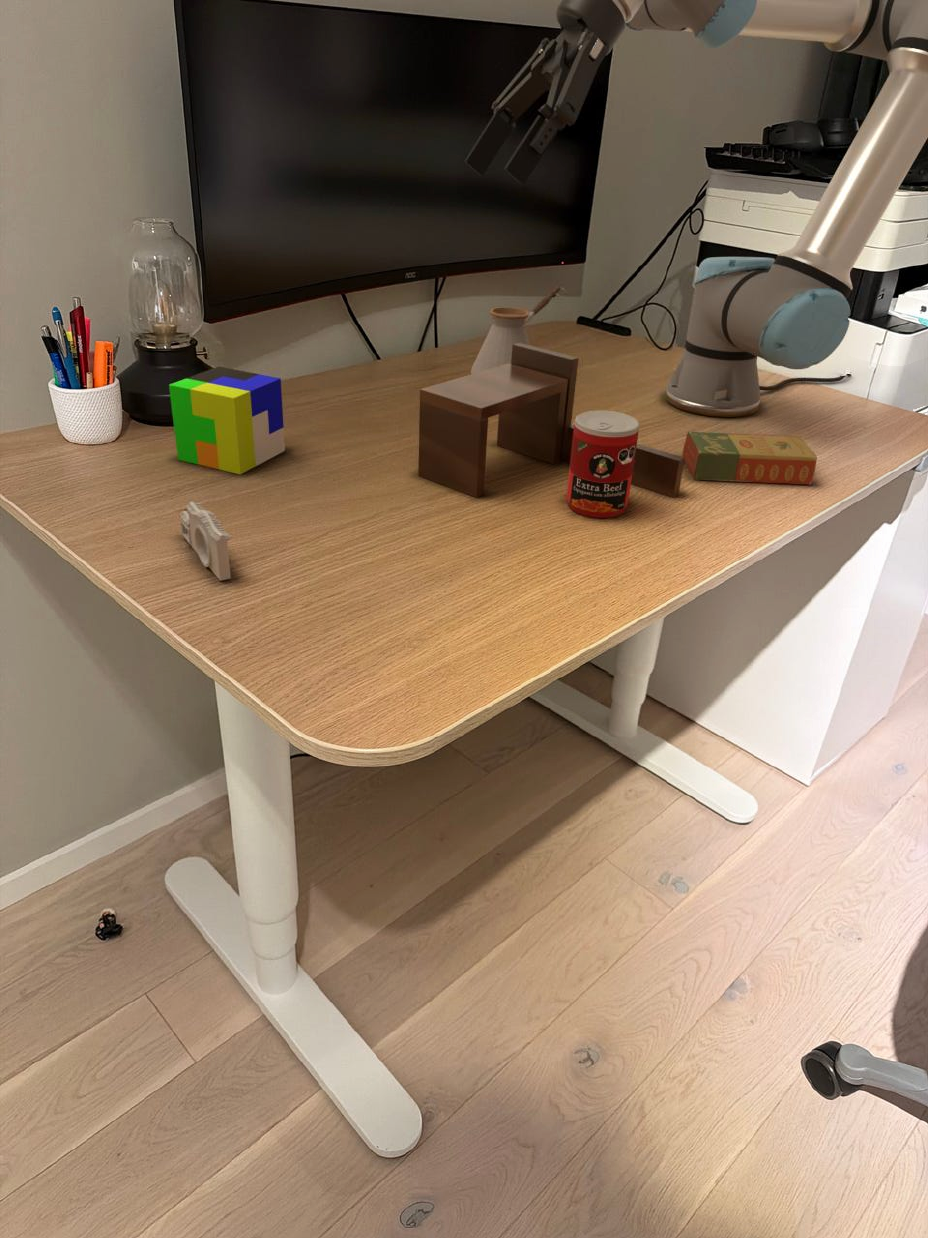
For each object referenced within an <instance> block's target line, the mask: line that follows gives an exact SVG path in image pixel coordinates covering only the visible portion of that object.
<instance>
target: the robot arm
mask: <svg viewBox="0 0 928 1238" xmlns="http://www.w3.org/2000/svg"><path fill="white" fill-rule="evenodd" d="M555 17H556V21H557V23H558V24H559V27H560V34H558V35H557V37H556V38H555V39H554V38H553V39H552V40H550V39H549V38H547V37H545V38H544V39H542V40H541V42H540V44H539V45H538V47H537V48H536V50H535V52H534V53H533V54H532V56H531V57H530V58H529V59H528V60H527V62H526V63H525V64H524V66H522V67H521V69H520V71H519V72H518V73H517V74H515V76H514V78H512V80H511V81H510V83H509V84H507V86H506V87H505V89H504V90H503V91H502V92H501V93H500V94H499V96H498V97H497V98H496V99H495V101H493V103H492V105H491V109H492V110H493V115H492V117H491V118H490V120H489V122H488V123H487V124H486V126H485V128H484V129H483V130H482V132H481V134H480V136H479V137H478V138H477V140H476V142H475V143H474V145H473V147H472V148H471V149H470V152H469V153H468V154H467V156H466V158H465V159H464V161H463V162H464V163H465V164H466V165H468V166H469V167H470V168H471V169H472V170H473V171H474V172H475V173H476V174H478V175H479V176H480V177H483V176H484V175H485V173H486V172H487V170H488V168H489V166H490V165H491V163H492V162H493V161H494V159H495V157H496V156H497V154H498V153H499V151H500V149H501V148H502V146H503V145H504V143H505V142H506V140H507V139H508V138H509V136H510V134H511V132H512V131H515V130H516V127H517V123H516V121H517V120H518V119H519V118H520V117H521V116H522V115H523V114H524V113H525V112H526V111H527V110H528V109H529V108H530V107H531V106H532V105H533V104H534V103H536V101H537V100H538V99H539V98H540V97H541V96H542V95H543V94H544V93H545V92H546V91H549V93H548V97H547V100H546V102H545V104H543V105H542V106H541V107H540V108H539V109H538V112H539V113H540V114H541V115H537V116H536V117H535V119H534V121H533V122H532V124H531V125H530V127H529V129H528V130H527V132H526V133H525V135H524V137H523V138H522V140H520V143H519V144H518V145H517V147H516V149H515V150H514V152H513V154H512V155H511V156H510V158H509V160H508V161H507V162H506V164H505V166H504V167H503V170H504V171H505V172H506V173H507V174H509V175H510V176H511V177H512V178H513V179H514V180H515V181H517V182H518V183H519V184H520V185H522V186H524V185H525V183H526V182H527V181H528V179H529V178H530V176H531V174H533V171H534V170H535V168H536V167H537V165H538V164H539V162H540V161H541V159H543V157H544V155H545V153H546V152H547V150H548V149H549V147H550V146H551V144H552V142H553V141H554V139H555V138H556V136H557V134H558V133H559V132H561V131H562V130H563V129H564V128H565V127H566V126H567V125H568V126H569V127H572V126H573V125H574V124H575V123H576V121H577V120H578V118H579V115H580V112H581V111H582V108H583V105H584V103H585V101H586V98H587V97H588V93H589V91H590V89H591V86H592V84H593V81H594V78H595V76H596V74H597V72H598V69H599V67H600V65H601V64H602V62H603V60H604V59H605V57H606V56H608V55H609V54H610V53H611V51H612V49H613V48H614V46H615V45H616V43H617V42H618V40H619V39H620V37H621V36H622V34H623V32H624V31H625V29H627V30H632V31H644V30H653V31H654V30H655V31H669V32H687V33H694V37H695V38H696V39H699V40H700V41H701V42H702V44H704V46H705V47H707V48H708V49H712V50H713V49H719V48H721V47H723V46H725V45H727V44H728V43H730V42H732V41H733V40H734V39H736V37H737V36H740V37H754V38H755V37H756V38H768V39H781V40H782V39H783V40H796V41H807V42H808V41H809V42H810V41H811V42H821V43H822V44H823V45H824V46H825V48H826V49H827V50H829V51H831V52H842V53H847V54H848V53H849V54H854V55H860V56H864V57H868V58H874V59H877V60H881V61H886V63H887V67H888V72H889V75H888V76H887V78H886V81H885V82H884V83H883V86H882V87H881V89H880V91H879V93H878V95H877V97H876V98H875V100H874V102H873V104H872V105H871V107H870V109H869V111H868V113H867V115H866V116H865V118H864V120H863V122H862V124H861V125H860V127H859V129H858V131H857V133H856V135H855V137H854V138H853V140H852V142H851V144H850V146H849V147H848V149H847V151H846V153H845V155H844V156H843V158H842V160H841V162H840V164H839V165H838V167H837V169H836V171H835V173H834V175H833V176H832V178H831V180H830V182H829V183H828V185H827V187H826V189H825V191H824V192H823V195H822V196H821V198H820V200H819V201H818V203H817V205H816V207H815V209H814V210H813V212H812V214H811V216H810V218H809V220H808V222H807V224H806V225H805V227H804V229H803V231H802V233H801V234H800V236H799V238H798V240H797V242H796V243H795V245H794V246H793V247H792V248H790V249H787V250H784V251H781V252H780V253H778V254H777V256H776V257H775V258H772V257H762V256H761V257H760V256H759V257H758V256H756V257H755V256H715V257H714V256H713V257H707V258H705V259H703V260H702V261H701V262H700V264H699V266H698V268H697V274H696V277H695V280H694V283H693V286H694V288H693V296H692V301H691V308H690V314H689V318H688V319H689V320H688V326H687V332H686V338H685V345H684V349H683V352H682V353H683V354H682V356H681V357H680V360H679V362H678V363H677V365H676V367H675V369H674V371H673V373H672V375H671V377H670V379H669V381H668V383H667V386H666V391H665V395H664V397H665V401H666V402H667V403H668V404H670V405H671V406H673V407H675V408H677V409H679V410H682V411H685V412H688V413H692V414H697V415H703V416H710V417H718V418H719V417H721V418H723V417H724V418H737V417H738V418H739V417H744V416H745V417H746V416H750V415H752V414H754V413H756V412H758V410H759V408H760V402H761V391H764V392H765V391H766V392H767V391H769V392H770V391H774V390H778V389H779V388H782V387H783V386H785V385H788V384H790V383H791V384H792V383H799V382H802V383H803V382H807V383H809V382H810V383H837V382H840V381H843V380H844V379H845V378H846V376H847V377H852V373H851V374H847V375H846V376H841V375H840V376H837V377H792V378H787V379H784V380H782V381H780V382H779V383H776V384H774V385H770V386H764V385H760V380H759V372H758V358H760V359H762V360H764V361H766V362H767V363H770V364H771V365H773V366H777V367H784V368H785V369H789V370H804V369H805V370H806V369H809V368H811V367H813V366H816V365H818V364H820V363H822V362H824V361H825V360H826V359H827V358H829V357H830V356H831V355H833V353H834V352H835V351H836V350H837V349H838V347H839V346H840V345H841V343H842V342H843V340H844V338H845V337H846V335H847V332H848V330H849V327H850V324H851V323H850V322H851V321H850V319H849V317H850V316H851V307H850V304H849V302H848V298H849V296H850V293H851V292H852V290H853V288H854V287H853V283H852V279H851V271H852V269H853V268H854V266H855V264H856V262H857V261H858V259H859V257H860V255H862V252H863V250H864V248H865V247H866V245H867V243H868V241H869V240H870V238H871V237H872V235H873V233H874V231H875V230H876V228H877V226H878V224H879V223H880V221H881V219H882V217H883V215H884V214H885V212H886V211H887V209H888V207H889V206H890V204H891V202H892V200H893V198H894V197H895V195H896V194H897V192H898V190H899V188H900V186H901V184H902V183H903V181H904V179H905V178H906V176H907V174H908V173H909V171H910V169H911V167H912V165H913V164H914V162H915V160H916V159H917V157H918V155H919V153H920V152H921V150H922V148H923V146H924V145H925V143H926V141H927V140H928V0H561V1H560V3H559V4H558V6H557V8H556V10H555Z"/></svg>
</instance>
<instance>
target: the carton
mask: <svg viewBox="0 0 928 1238" xmlns="http://www.w3.org/2000/svg"><path fill="white" fill-rule="evenodd" d="M681 457H683V458H685V461H684V464H686V466H687V468H688V470H689V472H690V474H691V476H692V478H693V479H694V480H696V481H723V482H739V483H740V482H745V483H766V484H767V483H769V484H771V483H772V484H791V485H792V484H793V485H794V484H795V485H811V484H812V483H813V479H814V475H815V472H816V466H817V461H818V457H817V455H816V454H815V453H814V451H813V450H812V449H811V447H810V446H809V445H808V444H807V443H806V442H805V441H804V439H802V437H801V436H797V435H781V434H779V435H777V434H751V433H727V432H704V431H687V434H686V437H685V440H684V445H683V448H682V453H681Z"/></svg>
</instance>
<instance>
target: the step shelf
mask: <svg viewBox="0 0 928 1238" xmlns="http://www.w3.org/2000/svg"><path fill="white" fill-rule="evenodd" d="M578 366H579V357H576V356H573V355H570V354H565V353H562V352H557V351H553V350H549V349H546V348H541V347H538V346H534V345H531V344H530V345H526V344H522V343H516V344H513V345H512V358H511V364H509V363H508V364H505V365H502V366H498V367H495V368H491V369H488V370H484V371H481V372H478V373H474V374H471V373H470V374H468V375H464V376H461V377H457V378H453V379H451V380H447V381H444V382H440V383H437V384H433V385H430V386H426V387H422V388H420V389H419V416H418V417H419V418H418V419H419V420H418V421H419V422H418V423H419V425H418V467H417V469H418V470H417V476H419V477H422V478H424V479H427V480H429V481H432V482H435V483H437V484H439V485H443V486H445V487H448V488H450V489H453V490H456V491H458V492H461V493H464V494H466V495H469V496H472V497H474V498H478V497H479V498H480V497H481V496H483V495H484V494H485V482H486V481H485V480H486V479H485V478H486V463H487V449H488V448H487V447H488V432H489V418H491V417H494V416H498V419H497V421H498V422H497V433H496V434H497V435H496V436H497V437H496V446H498V447H501V448H503V449H506V450H510V451H513V452H516V453H518V454H522V455H524V456H526V457H527V456H528V457H530V458H534V459H537V460H539V461H543V462H545V463H548V464H552V465H555V464H557V463H559V462H560V461H564V462H565V463H567V464H570V459H571V450H572V440H573V431H574V424H572V421H573V413H574V412H573V411H574V403H575V395H576V386H577V385H576V384H577V376H578ZM684 466H685V458H683V457H682V456H680V455H677V454H673V453H669V452H666V451H663V450H660V449H656V448H653V447H651V446H646V445H643V444H640V443H637V447H636V454H635V460H634V467H633V473H632V480H631V485H633V486H637V487H640V488H643V489H645V490H649V491H652V492H655V493H658V494H661V495H663V496H667V497H670V498H674V497H677V496H678V495H679V493H680V489H681V483H682V477H683V473H684Z"/></svg>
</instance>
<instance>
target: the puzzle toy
mask: <svg viewBox="0 0 928 1238" xmlns="http://www.w3.org/2000/svg"><path fill="white" fill-rule="evenodd" d="M168 388H169V390H168V391H169V398H170V407H171V414H172V421H173V430H174V437H175V438H174V439H175V445H176V453H177V460H179V461H182V462H186V463H191V464H195V465H199V466H203V467H207V468H210V469H211V468H212V469H216V470H218V471H219V470H220V471H224V472H228V473H233V474H236V475H242V474H244V473H246V472H248V471H250V470H252V469H254V468H256V467H258V466H259V465H261V464H263V463H265V462H267V461H268V460H270V459H272V458H274V457H276V456H278V455H280V454H282V453H284V452H285V451H286V444H285V443H286V442H285V427H284V426H285V425H284V411H283V410H284V409H283V395H282V394H283V393H282V391H283V390H282V378H280V377H275V376H270V375H266V374H265V375H264V374H260V373H255V372H249V371H244V370H240V369H234V368H230V367H224V366H216V367H213V368H211V369H208V370H205V371H202V372H199V373H197V374H194V375H191V376H189V377H186V378H184V379H181V380H178V381H176V382H173V383H170V384H168Z"/></svg>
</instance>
